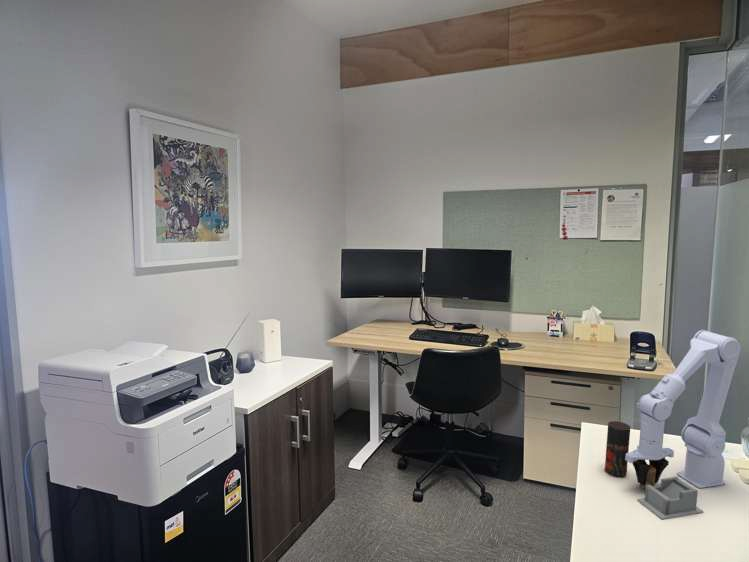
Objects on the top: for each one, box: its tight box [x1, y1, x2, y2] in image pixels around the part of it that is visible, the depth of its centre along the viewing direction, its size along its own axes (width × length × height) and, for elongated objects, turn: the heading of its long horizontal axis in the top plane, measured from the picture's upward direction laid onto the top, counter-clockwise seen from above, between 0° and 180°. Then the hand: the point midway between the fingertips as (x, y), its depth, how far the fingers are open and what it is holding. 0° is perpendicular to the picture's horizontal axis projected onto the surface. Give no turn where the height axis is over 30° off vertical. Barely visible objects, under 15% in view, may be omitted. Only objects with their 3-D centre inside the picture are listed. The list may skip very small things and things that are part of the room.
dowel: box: [639, 465, 656, 490], centre depth 138 cm, size 4×4×6 cm
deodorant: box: [604, 420, 631, 479], centre depth 145 cm, size 6×6×15 cm
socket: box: [636, 476, 704, 520], centre depth 129 cm, size 13×8×6 cm, turn 103°
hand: (647, 482), depth 138 cm, fingers closed on dowel, 4 cm apart
